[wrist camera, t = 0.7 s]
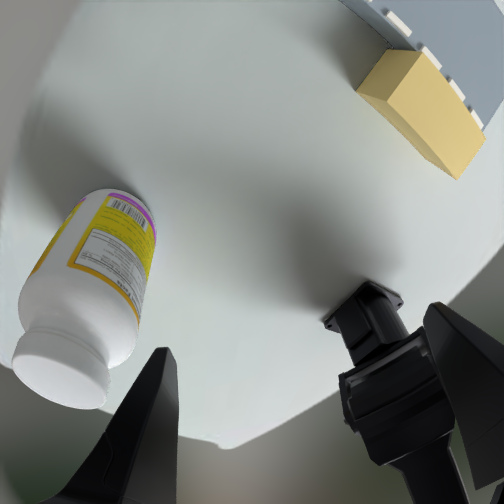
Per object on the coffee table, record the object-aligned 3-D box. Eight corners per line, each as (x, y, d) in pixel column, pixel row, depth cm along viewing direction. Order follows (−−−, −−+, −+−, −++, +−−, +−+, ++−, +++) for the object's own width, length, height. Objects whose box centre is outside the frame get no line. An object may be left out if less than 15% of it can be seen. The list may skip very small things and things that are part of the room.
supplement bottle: (86, 264, 22) (35, 408, 11) (65, 189, 18) (-34, 329, 8) (164, 262, 22) (144, 423, 12) (153, 181, 19) (95, 344, 8)
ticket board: (507, 52, 13) (529, 57, 11) (460, 125, 18) (482, 136, 16) (354, -109, 6) (370, -122, 4) (276, -40, 11) (286, -55, 9)
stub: (451, 122, 18) (486, 138, 15) (425, 158, 20) (456, 180, 16) (387, 49, 15) (423, 52, 11) (355, 91, 16) (386, 101, 13)
